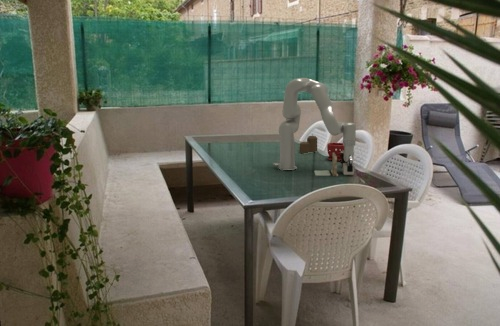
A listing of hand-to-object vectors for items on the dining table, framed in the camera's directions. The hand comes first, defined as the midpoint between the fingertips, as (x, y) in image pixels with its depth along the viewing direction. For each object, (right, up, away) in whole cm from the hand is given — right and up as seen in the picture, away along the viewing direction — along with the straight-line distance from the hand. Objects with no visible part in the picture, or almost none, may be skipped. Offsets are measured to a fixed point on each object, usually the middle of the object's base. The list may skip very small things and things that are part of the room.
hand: (348, 169), depth 263 cm
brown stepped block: (-15, +12, +70) cm, 73 cm away
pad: (-16, -2, +2) cm, 16 cm away
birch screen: (-9, -2, +1) cm, 9 cm away
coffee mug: (+2, +2, +19) cm, 19 cm away
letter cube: (0, -2, +1) cm, 2 cm away
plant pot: (0, +6, +40) cm, 40 cm away
